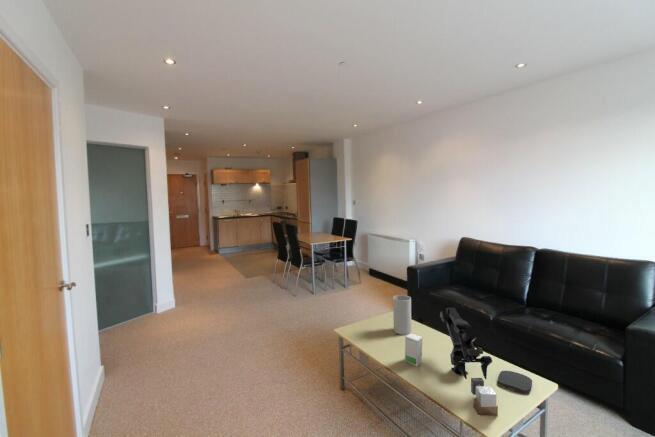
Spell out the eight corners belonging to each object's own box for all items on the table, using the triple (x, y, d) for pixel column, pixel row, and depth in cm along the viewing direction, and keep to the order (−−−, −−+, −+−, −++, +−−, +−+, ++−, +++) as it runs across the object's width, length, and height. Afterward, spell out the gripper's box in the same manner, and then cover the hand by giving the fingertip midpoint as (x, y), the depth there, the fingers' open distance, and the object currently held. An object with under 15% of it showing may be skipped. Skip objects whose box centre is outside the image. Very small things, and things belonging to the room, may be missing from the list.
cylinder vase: (390, 331, 230) (389, 297, 228) (400, 326, 239) (399, 293, 237) (404, 336, 221) (404, 301, 219) (414, 331, 229) (414, 297, 227)
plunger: (471, 391, 154) (471, 377, 153) (481, 391, 154) (481, 377, 153) (477, 402, 146) (477, 387, 146) (489, 402, 146) (489, 387, 145)
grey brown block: (473, 407, 147) (473, 385, 146) (491, 407, 147) (492, 386, 146) (478, 416, 141) (478, 394, 140) (498, 416, 141) (498, 394, 140)
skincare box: (404, 361, 189) (404, 336, 187) (410, 357, 193) (409, 332, 192) (417, 366, 183) (417, 340, 182) (422, 361, 188) (422, 336, 187)
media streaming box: (501, 372, 175) (501, 367, 174) (533, 382, 165) (533, 376, 165) (496, 385, 163) (496, 380, 163) (529, 396, 154) (529, 390, 154)
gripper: (452, 340, 159) (460, 374, 148) (490, 340, 157) (501, 374, 147) (447, 348, 167) (454, 380, 157) (483, 348, 166) (493, 380, 156)
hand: (475, 379), depth 154 cm, fingers open, 9 cm apart
